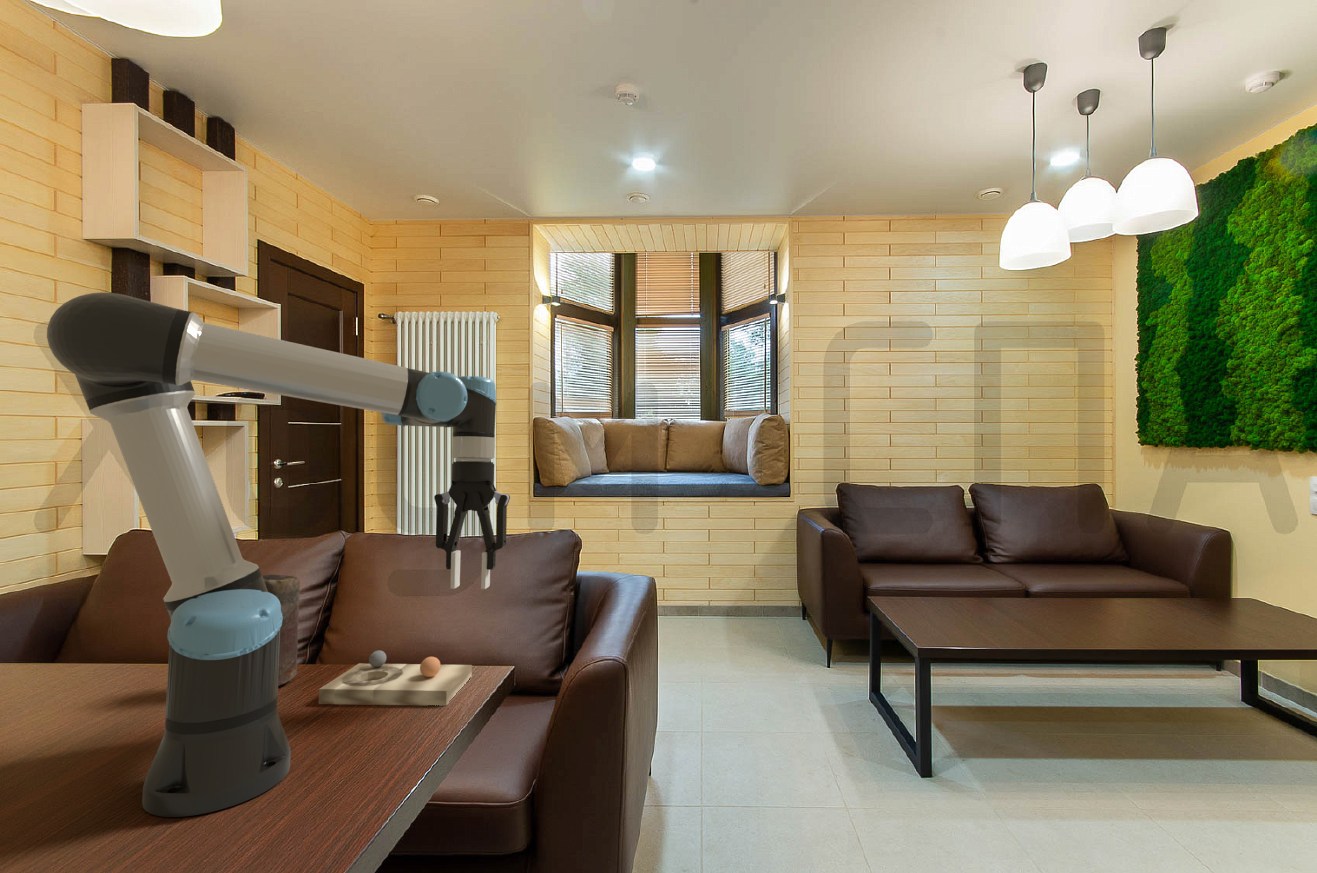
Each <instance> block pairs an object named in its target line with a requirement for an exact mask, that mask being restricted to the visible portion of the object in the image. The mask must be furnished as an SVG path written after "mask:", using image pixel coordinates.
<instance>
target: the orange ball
mask: <svg viewBox="0 0 1317 873" xmlns="http://www.w3.org/2000/svg"><path fill="white" fill-rule="evenodd" d="M420 664H421V665H420V671H421V673H422V675H423V676H425V677H433V676H435V675H436V674H437V673H438V672H439V670H440V666H441V665H442V664H441V661H440V660H439V659H438V657H435V656H428V657H426V658H424V659H423V660H422V661H421V663H420Z"/></svg>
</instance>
